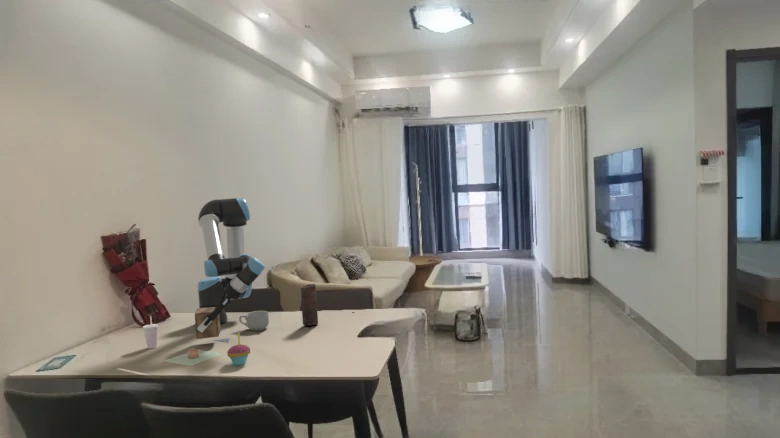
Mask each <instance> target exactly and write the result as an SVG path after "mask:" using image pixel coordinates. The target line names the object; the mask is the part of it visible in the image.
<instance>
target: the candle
mask: <svg viewBox="0 0 780 438" xmlns="http://www.w3.org/2000/svg"><path fill="white" fill-rule="evenodd" d="M300 296H301V314H302V316H301V317H302V325H304V326H305V327H309V326H311V327H312V326H315V325H318V324H319V316H318V315H319V314H318V304H317V303H318V302H317V287H316V284H315V283H311V284H304V285H303V284H302V285H301V286H300Z"/></svg>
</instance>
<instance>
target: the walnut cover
mask: <svg viewBox="0 0 780 438" xmlns="http://www.w3.org/2000/svg"><path fill="white" fill-rule="evenodd" d="M215 308H216V307H208V308H198V307H197V308H196V310H195V312H194V323H195V326H194V327H195V334H196V337H195V338H196V340H201V339H202V340H203V339H209V338H211V339H212V338H218V337H220V333H221V324H220V317H219V314H218V316H217V317H216V318H215V320H214V321H212V322H211V323H210V324H209V325H208V327H207V328H206V329H205V330H204V331H203V332H200V331H199V330H198V329H197V328H198V327H199V326H200V325H201V323H202V322H203V321H204V320H205V319H206V318H207V315H208V316H209V315H210V314H211V313H212V312H213V310H214V309H215ZM212 317H213V316H212Z"/></svg>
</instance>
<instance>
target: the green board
mask: <svg viewBox="0 0 780 438" xmlns="http://www.w3.org/2000/svg"><path fill="white" fill-rule="evenodd" d="M221 355H223V353H221V352H216V351H210V350H209V351H208V350H203V349H199V357H198V358H195V359H188V352H186V353H183V354H180V355H176V356H174V357H172V358H168V359H166V360H164V362H165V363H171V364H177V365H183V366H188V367H190V366H191V367H192V366H194V365H197V364H198V363H199V364H200V363H202V362H204V361H207V360H210V359H212V358H216V357H218V356H221Z"/></svg>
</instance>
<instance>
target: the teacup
mask: <svg viewBox="0 0 780 438" xmlns="http://www.w3.org/2000/svg"><path fill="white" fill-rule="evenodd" d="M269 317H270V315H269V311H267V310H254V311H250V312H248V313H246V314H241V315H239V318H238V321H239V322H240V324H242V325H244V326H245V327H247V328H248V329H249V330H250V331H256V332H259V331H263V330H265V329H267V328H268V326H269V323H270V319H269ZM242 318H244V320H245V321H246V322H244V321H243V320H242Z"/></svg>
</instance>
